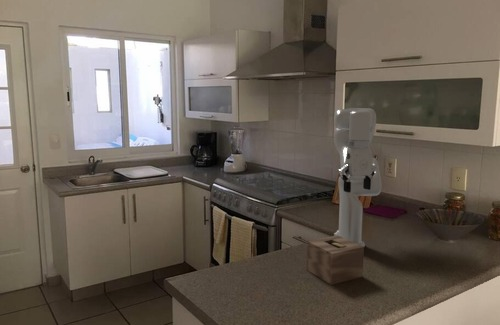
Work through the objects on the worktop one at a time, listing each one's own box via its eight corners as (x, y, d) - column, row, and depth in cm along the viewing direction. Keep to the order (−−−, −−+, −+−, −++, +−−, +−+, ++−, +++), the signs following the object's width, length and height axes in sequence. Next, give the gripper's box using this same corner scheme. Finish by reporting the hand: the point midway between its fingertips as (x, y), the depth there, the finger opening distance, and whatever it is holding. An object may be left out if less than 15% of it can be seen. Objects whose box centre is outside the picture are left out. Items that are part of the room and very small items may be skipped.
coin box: (306, 270, 153) (307, 241, 151) (336, 263, 159) (337, 235, 158) (331, 284, 141) (332, 253, 139) (362, 276, 147) (364, 246, 146)
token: (331, 260, 149) (331, 243, 149) (336, 258, 150) (335, 242, 150) (341, 263, 145) (340, 246, 145) (345, 262, 146) (344, 245, 146)
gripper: (347, 147, 145) (345, 195, 148) (383, 144, 154) (381, 190, 156) (333, 144, 152) (332, 190, 155) (369, 142, 160) (367, 186, 163)
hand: (357, 190), depth 155 cm, fingers open, 9 cm apart
